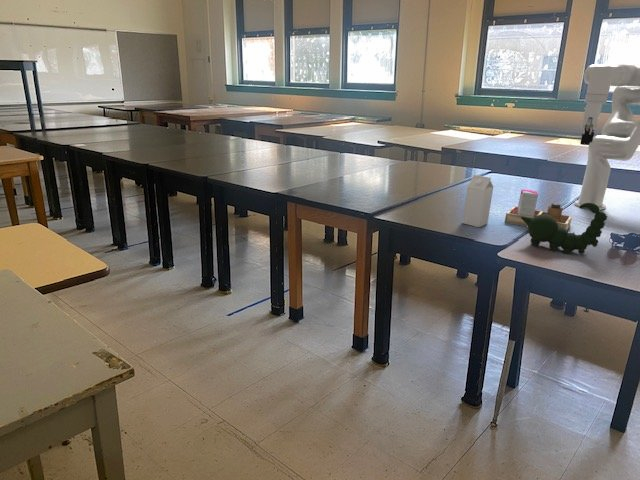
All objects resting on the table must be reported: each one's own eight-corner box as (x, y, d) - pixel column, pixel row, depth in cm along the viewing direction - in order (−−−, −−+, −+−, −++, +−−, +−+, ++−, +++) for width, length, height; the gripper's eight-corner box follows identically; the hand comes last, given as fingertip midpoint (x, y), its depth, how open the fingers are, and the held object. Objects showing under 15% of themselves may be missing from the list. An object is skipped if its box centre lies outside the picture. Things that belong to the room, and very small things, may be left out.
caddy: (512, 214, 202) (516, 194, 198) (570, 225, 190) (574, 203, 187) (504, 222, 191) (508, 200, 188) (564, 233, 180) (569, 210, 177)
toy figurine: (593, 257, 163) (517, 235, 175) (612, 204, 156) (532, 185, 168) (589, 265, 156) (511, 242, 168) (609, 211, 148) (526, 190, 160)
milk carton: (471, 219, 193) (478, 173, 187) (487, 224, 189) (495, 176, 182) (461, 223, 188) (468, 175, 182) (478, 227, 184) (486, 179, 177)
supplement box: (533, 222, 190) (538, 193, 186) (517, 220, 192) (522, 192, 188) (531, 217, 196) (536, 190, 192) (515, 216, 197) (520, 189, 193)
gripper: (587, 97, 196) (578, 139, 202) (582, 99, 182) (572, 144, 188) (608, 98, 192) (598, 142, 198) (604, 100, 178) (594, 147, 184)
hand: (586, 143), depth 193 cm, fingers open, 9 cm apart
